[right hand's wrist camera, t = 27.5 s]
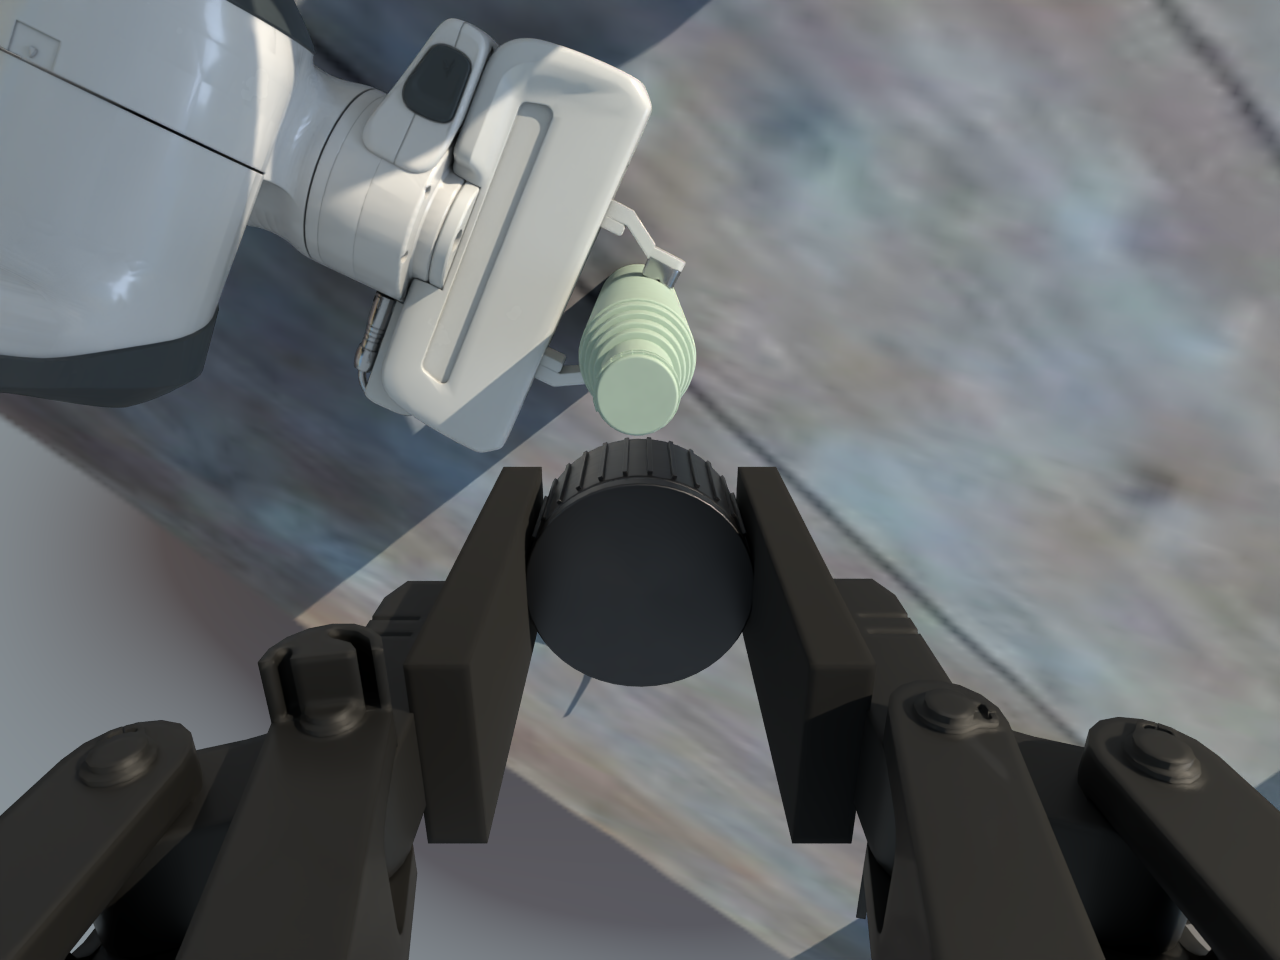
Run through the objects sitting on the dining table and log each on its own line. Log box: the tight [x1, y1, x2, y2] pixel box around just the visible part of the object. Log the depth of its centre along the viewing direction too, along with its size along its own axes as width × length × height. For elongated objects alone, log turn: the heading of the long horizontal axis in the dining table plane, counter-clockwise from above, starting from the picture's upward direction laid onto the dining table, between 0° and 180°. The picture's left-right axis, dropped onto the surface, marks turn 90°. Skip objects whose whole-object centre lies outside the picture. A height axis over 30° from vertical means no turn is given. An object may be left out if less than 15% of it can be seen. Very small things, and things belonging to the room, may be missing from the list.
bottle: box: [578, 264, 696, 435], centre depth 34 cm, size 5×5×22 cm
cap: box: [526, 437, 754, 687], centre depth 13 cm, size 4×4×2 cm
